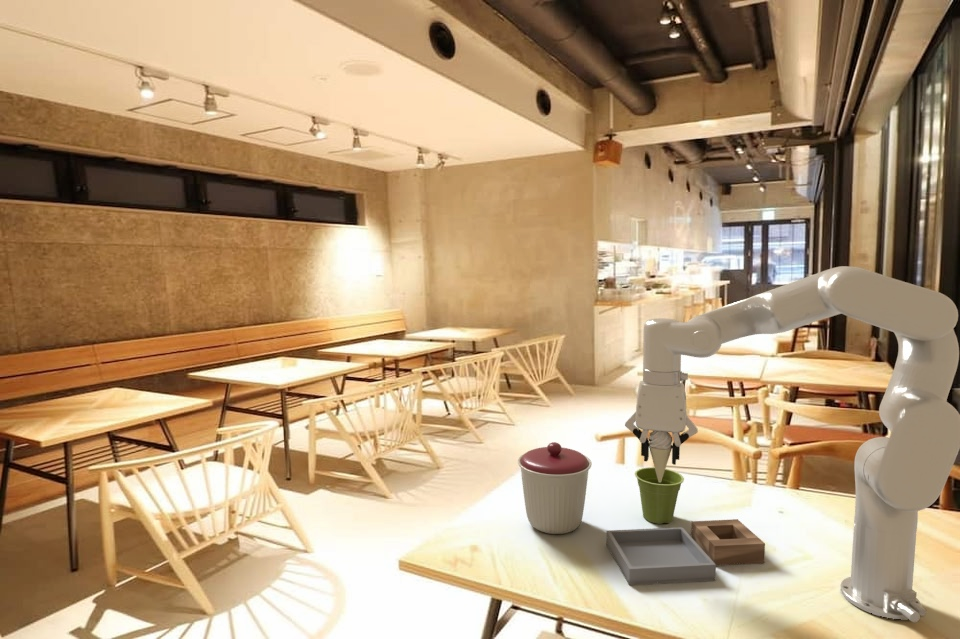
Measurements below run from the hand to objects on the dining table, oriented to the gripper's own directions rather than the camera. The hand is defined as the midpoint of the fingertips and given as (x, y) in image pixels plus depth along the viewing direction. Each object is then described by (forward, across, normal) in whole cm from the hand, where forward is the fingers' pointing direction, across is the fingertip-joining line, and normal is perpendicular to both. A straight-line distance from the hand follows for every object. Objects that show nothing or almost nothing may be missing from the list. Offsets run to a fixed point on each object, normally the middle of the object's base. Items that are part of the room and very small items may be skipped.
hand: (660, 460), depth 118 cm
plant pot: (+23, +1, -22) cm, 32 cm away
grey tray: (+23, 0, 0) cm, 23 cm away
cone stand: (+23, -14, -10) cm, 29 cm away
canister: (+23, +25, -9) cm, 36 cm away
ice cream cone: (+5, 0, 0) cm, 5 cm away
